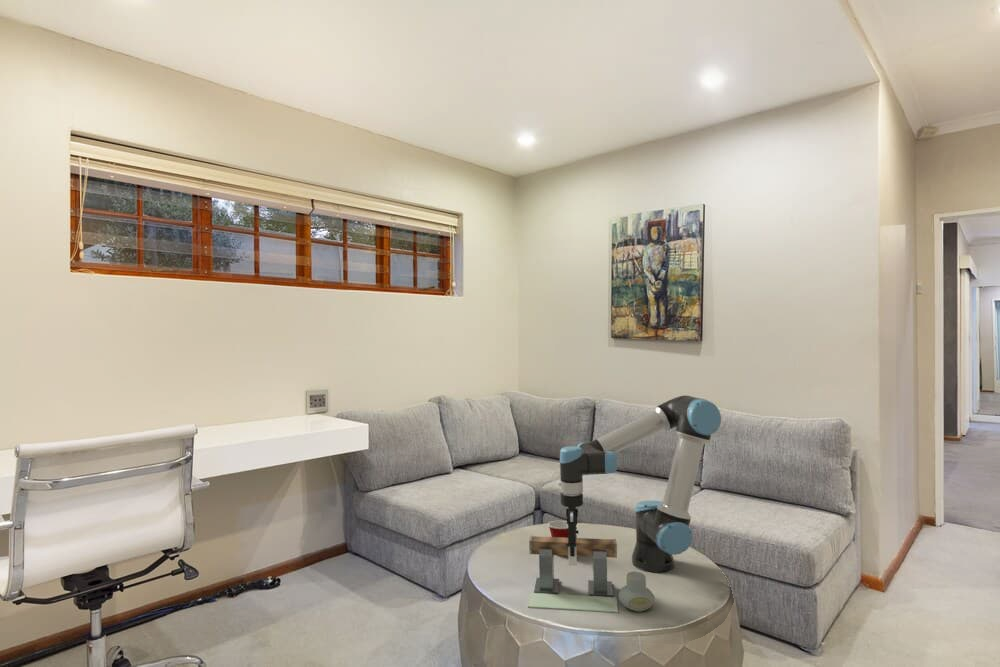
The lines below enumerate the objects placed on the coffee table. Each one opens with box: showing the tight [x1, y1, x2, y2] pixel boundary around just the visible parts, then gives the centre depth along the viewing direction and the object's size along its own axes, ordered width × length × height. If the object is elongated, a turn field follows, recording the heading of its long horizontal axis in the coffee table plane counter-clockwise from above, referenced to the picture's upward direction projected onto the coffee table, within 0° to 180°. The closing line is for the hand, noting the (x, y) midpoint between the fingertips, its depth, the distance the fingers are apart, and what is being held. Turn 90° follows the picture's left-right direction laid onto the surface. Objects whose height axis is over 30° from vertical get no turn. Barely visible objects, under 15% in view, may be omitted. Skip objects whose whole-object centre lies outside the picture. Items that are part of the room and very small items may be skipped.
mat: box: [527, 592, 619, 614], centre depth 176 cm, size 28×9×1 cm, turn 81°
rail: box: [528, 535, 618, 558], centre depth 186 cm, size 29×5×5 cm, turn 81°
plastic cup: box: [547, 520, 568, 557], centre depth 215 cm, size 11×11×12 cm
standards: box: [533, 548, 614, 597], centre depth 186 cm, size 26×10×14 cm, turn 81°
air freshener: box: [618, 571, 655, 612], centre depth 173 cm, size 11×8×10 cm
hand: (572, 558), depth 186 cm, fingers open, 9 cm apart
